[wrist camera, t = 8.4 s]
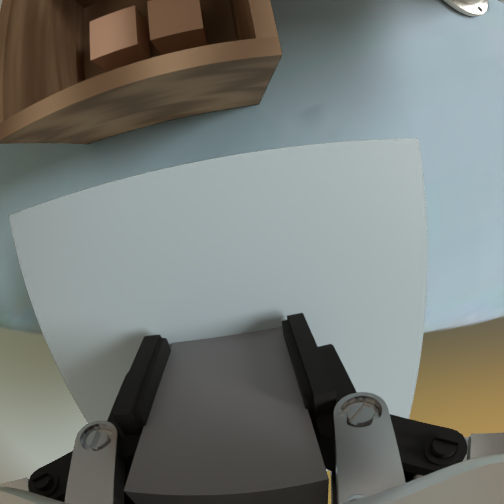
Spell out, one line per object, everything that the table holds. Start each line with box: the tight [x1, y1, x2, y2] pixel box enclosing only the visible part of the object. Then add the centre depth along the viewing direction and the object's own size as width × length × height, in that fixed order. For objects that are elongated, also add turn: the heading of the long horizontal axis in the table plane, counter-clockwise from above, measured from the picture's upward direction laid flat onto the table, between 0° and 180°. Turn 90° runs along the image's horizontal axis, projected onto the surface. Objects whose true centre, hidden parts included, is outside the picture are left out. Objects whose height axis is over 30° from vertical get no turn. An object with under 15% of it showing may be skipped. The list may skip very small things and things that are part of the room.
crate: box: [0, 0, 282, 144], centre depth 15 cm, size 16×16×13 cm
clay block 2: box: [147, 0, 208, 55], centre depth 18 cm, size 4×4×4 cm
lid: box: [9, 139, 427, 504], centre depth 9 cm, size 16×16×9 cm
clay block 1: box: [90, 5, 151, 71], centre depth 18 cm, size 4×4×4 cm
